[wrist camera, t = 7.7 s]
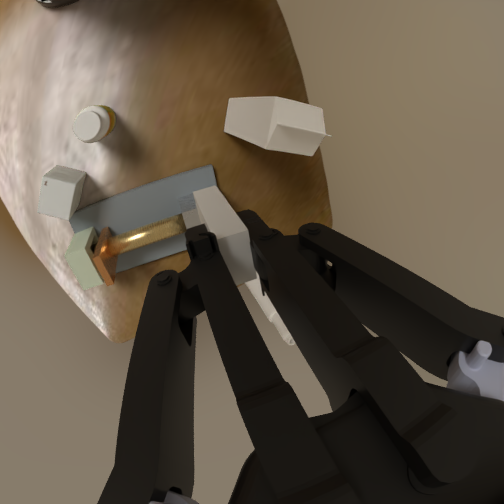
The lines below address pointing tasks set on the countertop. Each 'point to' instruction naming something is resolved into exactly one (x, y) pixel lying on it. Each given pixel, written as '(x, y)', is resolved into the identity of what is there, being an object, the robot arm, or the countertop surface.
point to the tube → (131, 243)
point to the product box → (61, 192)
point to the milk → (276, 123)
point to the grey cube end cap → (190, 210)
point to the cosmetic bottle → (269, 309)
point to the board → (144, 213)
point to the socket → (84, 259)
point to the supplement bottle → (94, 123)
